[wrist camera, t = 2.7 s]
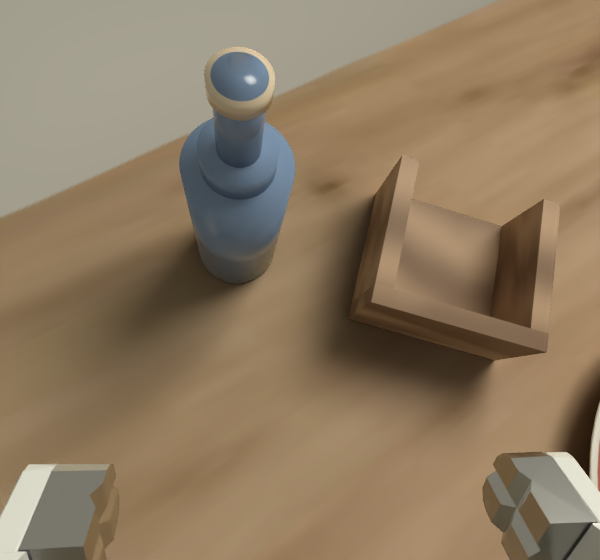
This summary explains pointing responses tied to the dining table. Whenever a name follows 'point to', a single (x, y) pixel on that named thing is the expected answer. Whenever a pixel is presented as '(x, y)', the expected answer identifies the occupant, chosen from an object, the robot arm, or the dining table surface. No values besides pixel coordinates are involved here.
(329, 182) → the dining table surface
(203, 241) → the bottle
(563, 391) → the dining table surface
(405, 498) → the dining table surface
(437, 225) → the holder
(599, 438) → the dinner plate
